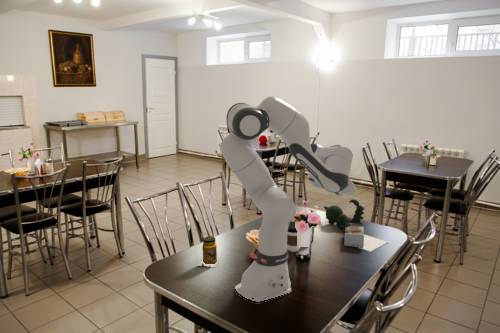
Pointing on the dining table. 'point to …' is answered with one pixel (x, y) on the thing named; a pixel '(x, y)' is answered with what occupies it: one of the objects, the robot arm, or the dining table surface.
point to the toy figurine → (343, 215)
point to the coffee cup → (292, 237)
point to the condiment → (209, 250)
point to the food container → (313, 232)
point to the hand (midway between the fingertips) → (339, 194)
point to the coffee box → (354, 235)
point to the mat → (372, 243)
